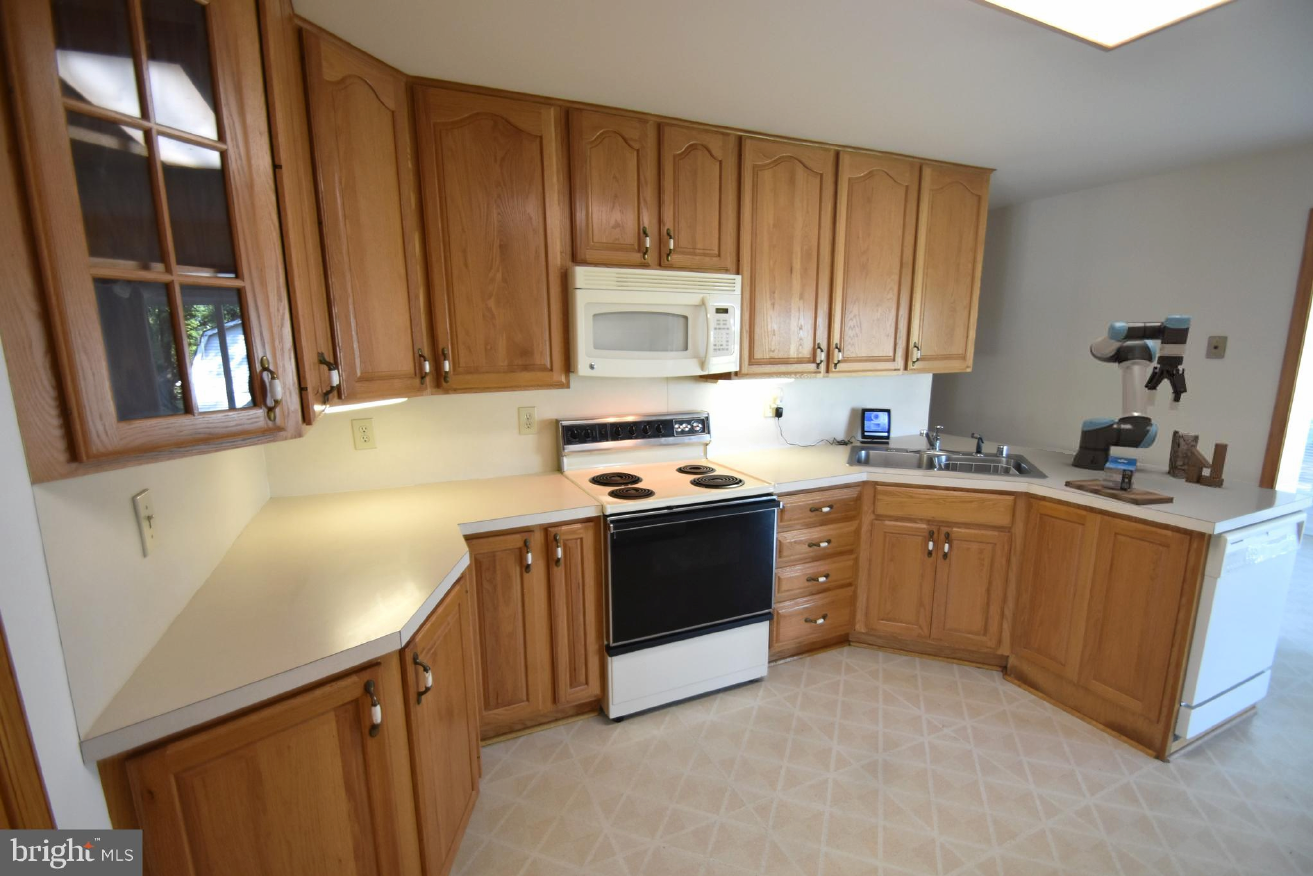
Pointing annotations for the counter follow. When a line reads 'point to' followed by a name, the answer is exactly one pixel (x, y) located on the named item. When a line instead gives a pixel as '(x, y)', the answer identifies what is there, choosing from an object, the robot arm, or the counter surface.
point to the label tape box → (1119, 473)
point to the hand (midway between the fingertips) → (1161, 407)
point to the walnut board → (1120, 492)
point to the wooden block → (1207, 466)
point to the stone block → (1181, 452)
